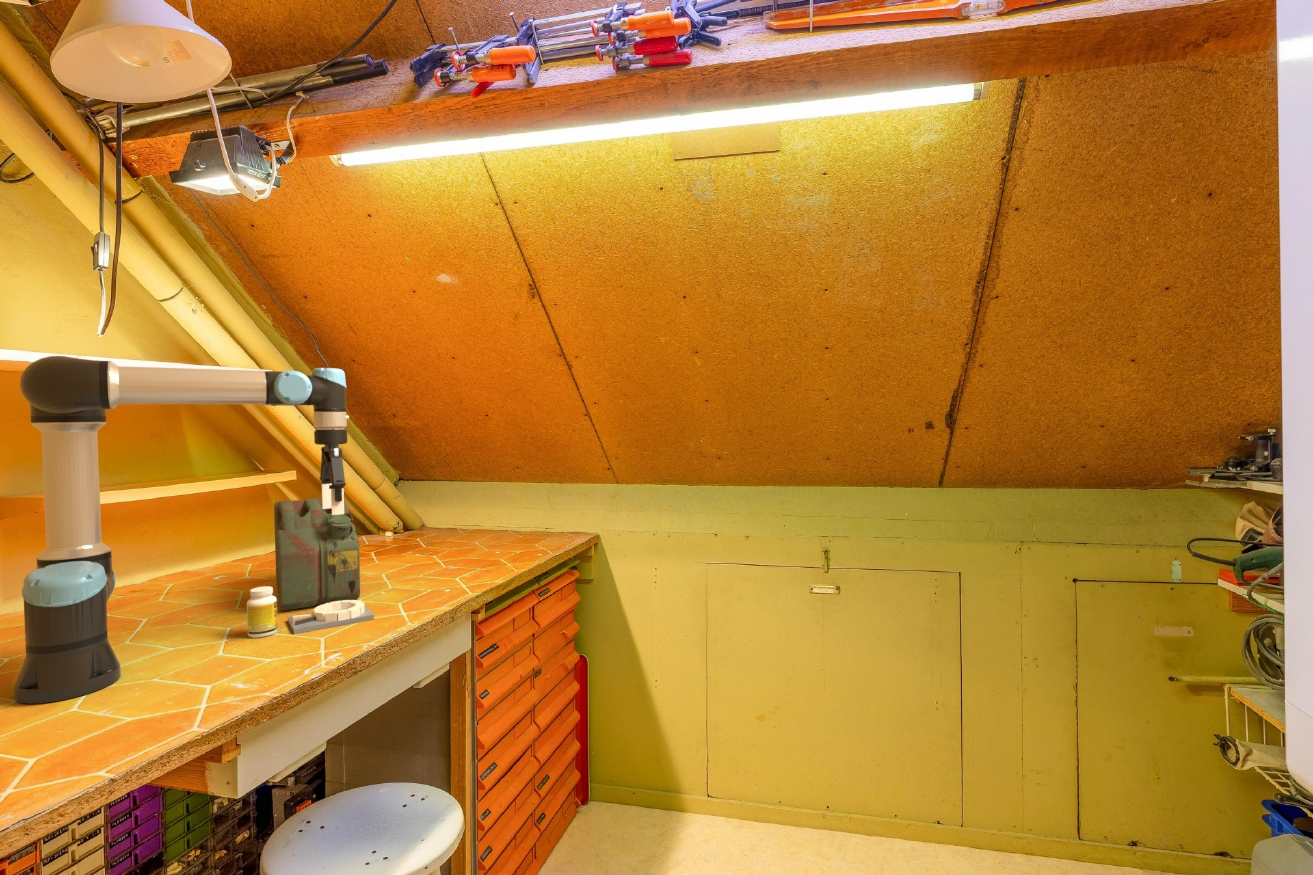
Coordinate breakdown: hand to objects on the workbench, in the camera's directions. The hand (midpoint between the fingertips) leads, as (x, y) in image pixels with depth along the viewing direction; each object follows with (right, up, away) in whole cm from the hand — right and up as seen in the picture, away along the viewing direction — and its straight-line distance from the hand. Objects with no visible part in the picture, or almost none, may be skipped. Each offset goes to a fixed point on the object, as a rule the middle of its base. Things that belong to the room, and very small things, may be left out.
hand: (332, 511), depth 162 cm
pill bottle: (-12, -29, -10) cm, 33 cm away
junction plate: (0, -28, 0) cm, 28 cm away
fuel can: (-18, -28, +25) cm, 41 cm away
